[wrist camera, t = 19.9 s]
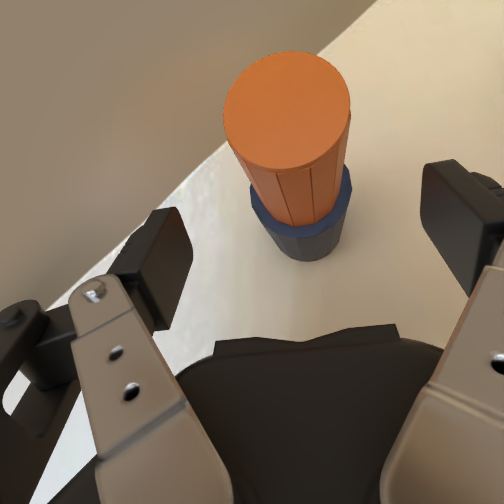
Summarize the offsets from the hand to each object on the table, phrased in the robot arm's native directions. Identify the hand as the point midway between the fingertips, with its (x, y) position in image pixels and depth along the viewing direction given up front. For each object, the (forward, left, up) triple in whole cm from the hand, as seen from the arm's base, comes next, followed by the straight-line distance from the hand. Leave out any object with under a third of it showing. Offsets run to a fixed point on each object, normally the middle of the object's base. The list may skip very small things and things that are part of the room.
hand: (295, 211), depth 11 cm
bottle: (0, -5, -23) cm, 23 cm away
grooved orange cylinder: (0, -5, -11) cm, 12 cm away
